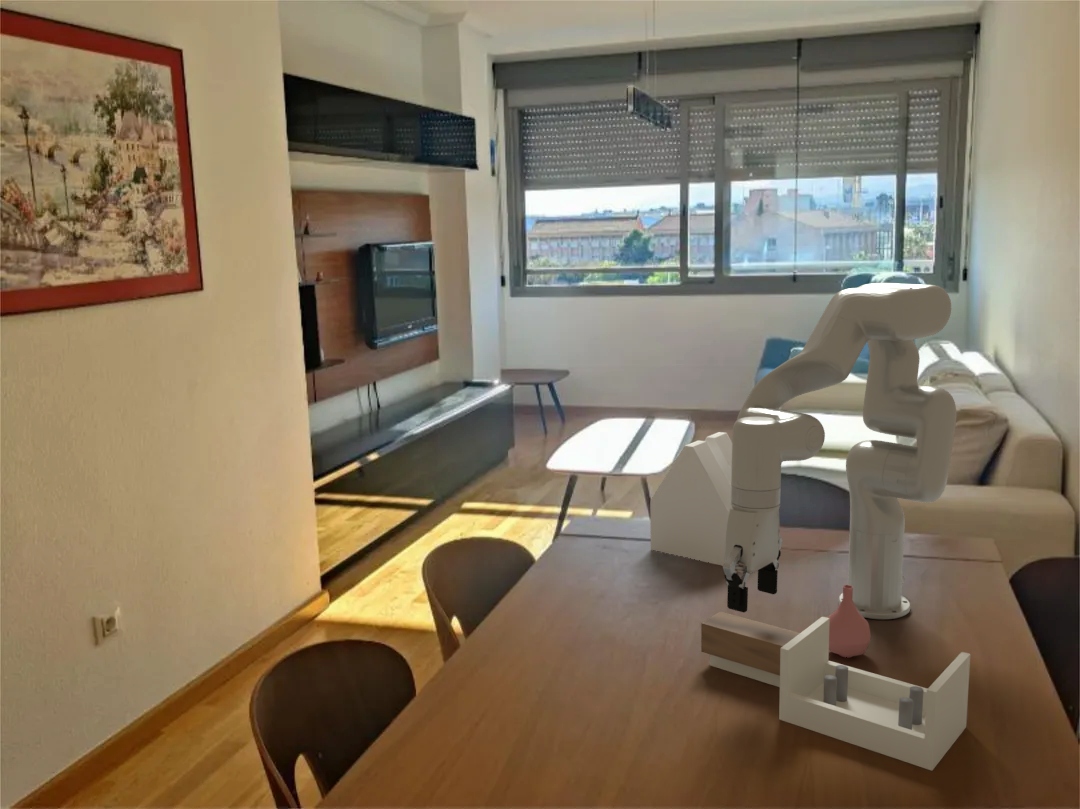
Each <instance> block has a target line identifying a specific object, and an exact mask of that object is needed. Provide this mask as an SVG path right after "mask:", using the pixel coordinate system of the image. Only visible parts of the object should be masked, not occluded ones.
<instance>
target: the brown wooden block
mask: <svg viewBox="0 0 1080 809" xmlns="http://www.w3.org/2000/svg"><path fill="white" fill-rule="evenodd" d="M700 623H701V624H700V626H701V627H700V628H701V630H700V634H701V636H700V637H701V639H700V640H701V641H700V643H701V644H700V645H701V646H700V647H701V650H700V651H701V653H703V654H707V655H709V656H710V655H714V656H717V657H720V658H723V659H727V660H730V661H733V662H737V663H740V664H743V665H746V666H750V667H753V668H756V669H760V670H763V671H766V672H769V673H773V674H776V675H779V676H780V648H781V647H783V646H784V645H785V644H787V643H788V642H789V641H791V640H792V639H793V638H794V637H796V636H797V635H798V634H800V633H801V632H798V631H795V630H790V629H787V628H784V627H781V626H780V627H779V626H776V625H772V624H769V623H765V622H761V621H758V620H753V619H749V618H746V617H743V616H739V615H735V614H731V613H728V612H724V611H721V610H720V611H719V612H717V613H716V614H713V615H712V616H710V617H709V618H707V619H706V620H704V621H702V622H700Z"/></svg>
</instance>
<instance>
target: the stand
mask: <svg viewBox="0 0 1080 809" xmlns="http://www.w3.org/2000/svg"><path fill="white" fill-rule="evenodd" d="M829 623H830V618H827V616H821V617H820V618H818V619H817V620H815V621H814V622H813V623H812V624H810V625H809V626H808V627H806V628H805V629H803V630H802V631H801V632H799V633H800V634H798V635H797V636H796V637H794V638H793V639H792V640H791V641H789V642H788V643H787V644H785V645H784V646H783V647H781V648H780V687H779V707H778V708H779V709H778V710H779V711H778V712H779V713H778V715H779V716H778V717H779V718H778V719H779V720H780V721H783V722H785V723H789V724H790V725H791V724H792V725H794V726H798V727H801V728H804V729H807V730H809V731H813V732H816V733H818V734H822V735H825V736H827V737H830V738H834V739H836V740H839V741H842V742H846V743H847V744H852V745H854V746H856V747H860V748H864V749H866V750H869V751H872V752H875V753H877V754H882V755H884V756H887V757H890V758H893V759H896V760H899V761H902V762H905V763H908V764H910V765H914V766H917V767H920V768H922V769H926V770H928V771H933V770H935V768H936V767H937V765H938V764H939V763H940V761H942V759H943V757H944V756H945V755H946V753H948V751H949V750H950V749H951V748H952V746H953V745H954V743H955V742H956V741H957V739H959V737H960V736H961V735H962V733H963V732H964V731H965V729H966V728H967V720H968V702H969V683H970V668H971V654H970V653H968V652H964V651H961V652H960V653H959V654H958V655H957V656H956V657H955V658H954V660H952V662H950V664H949V665H948V666H947V667H946V668H945V669H944V671H942V673H940V675H939V676H938V677H937V678H936V679H935V680H934V681H933V682H932V683H931V684H930V686H929V687H928V688H927V687H923V686H919V685H917V684H912V683H909V682H906V681H902V680H899V679H894V678H891V677H888V676H884V675H881V674H877V673H873V672H870V671H867V670H864V669H860V668H856V667H854V666H849V665H846V664H841V663H839V662H835V661H831V660H829V658H830V656H829V653H830V650H829Z"/></svg>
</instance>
